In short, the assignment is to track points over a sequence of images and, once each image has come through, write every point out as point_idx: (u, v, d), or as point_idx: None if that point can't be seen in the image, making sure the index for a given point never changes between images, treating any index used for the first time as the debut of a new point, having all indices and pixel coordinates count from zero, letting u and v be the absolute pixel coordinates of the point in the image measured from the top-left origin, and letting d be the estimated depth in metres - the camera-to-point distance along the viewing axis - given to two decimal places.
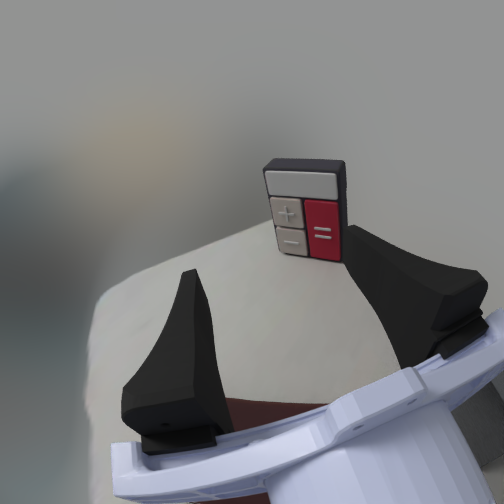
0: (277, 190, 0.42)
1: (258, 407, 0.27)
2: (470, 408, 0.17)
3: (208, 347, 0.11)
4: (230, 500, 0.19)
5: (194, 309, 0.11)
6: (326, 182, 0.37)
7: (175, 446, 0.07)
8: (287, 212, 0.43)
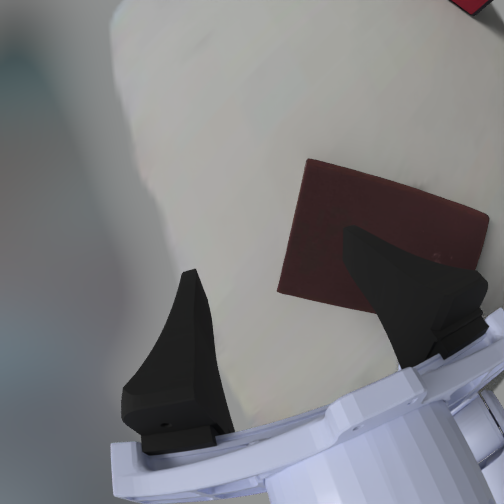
0: None
1: (391, 191, 0.24)
2: None
3: (208, 347, 0.11)
4: (355, 299, 0.26)
5: (194, 309, 0.11)
6: None
7: (175, 446, 0.07)
8: None
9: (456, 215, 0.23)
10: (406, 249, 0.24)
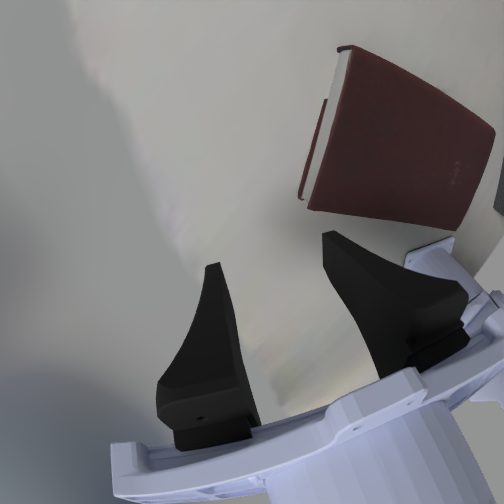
0: None
1: (431, 95, 0.18)
2: None
3: (235, 340, 0.11)
4: (387, 209, 0.23)
5: (223, 301, 0.11)
6: None
7: (211, 440, 0.07)
8: None
9: (475, 126, 0.20)
10: (437, 156, 0.21)
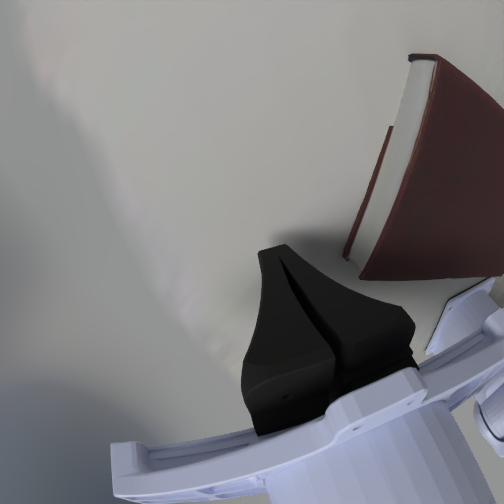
0: None
1: None
2: None
3: None
4: (447, 268, 0.17)
5: (288, 283, 0.11)
6: None
7: (293, 419, 0.07)
8: None
9: None
10: None
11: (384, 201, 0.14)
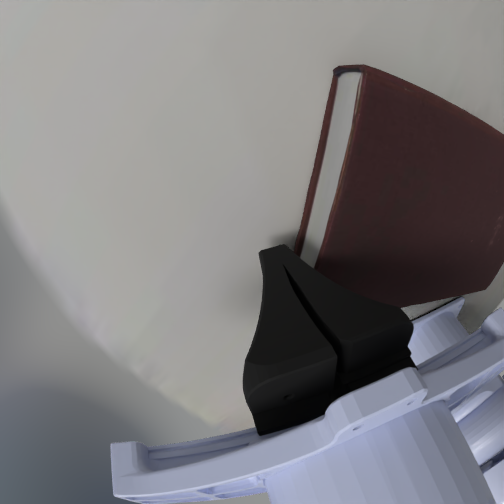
0: None
1: (478, 135, 0.11)
2: None
3: None
4: (407, 297, 0.16)
5: (289, 282, 0.11)
6: None
7: (294, 419, 0.07)
8: None
9: None
10: (477, 218, 0.14)
11: (316, 240, 0.14)
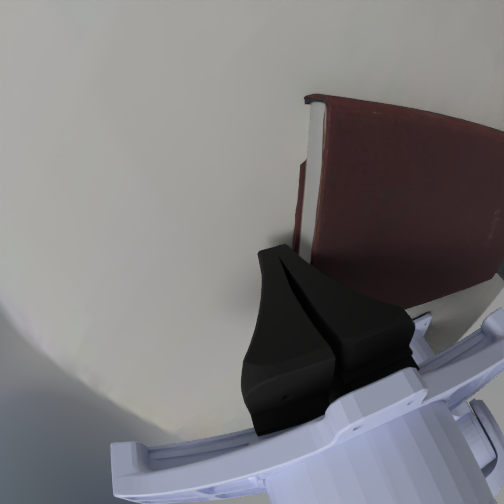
0: None
1: (462, 138, 0.11)
2: None
3: None
4: (406, 301, 0.17)
5: (288, 283, 0.11)
6: None
7: (293, 419, 0.07)
8: None
9: None
10: (471, 218, 0.14)
11: None
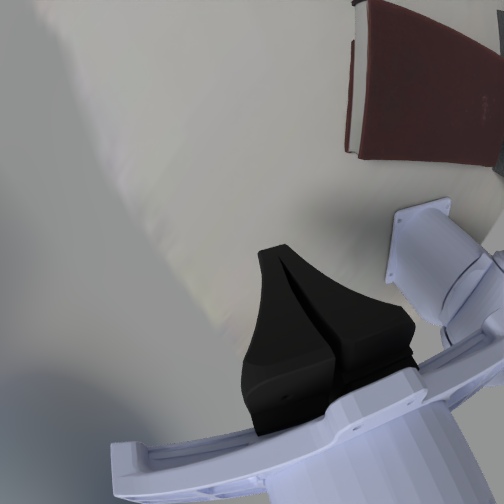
0: None
1: (447, 34, 0.14)
2: None
3: None
4: (431, 150, 0.20)
5: (288, 283, 0.11)
6: None
7: (293, 419, 0.07)
8: None
9: (492, 60, 0.16)
10: (465, 93, 0.17)
11: (361, 100, 0.18)
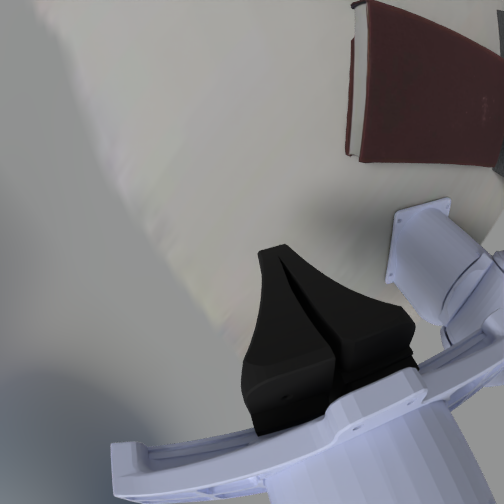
0: None
1: (447, 36, 0.15)
2: None
3: None
4: (431, 152, 0.20)
5: (288, 283, 0.11)
6: None
7: (293, 419, 0.07)
8: None
9: (492, 61, 0.16)
10: (465, 94, 0.18)
11: (361, 103, 0.18)
